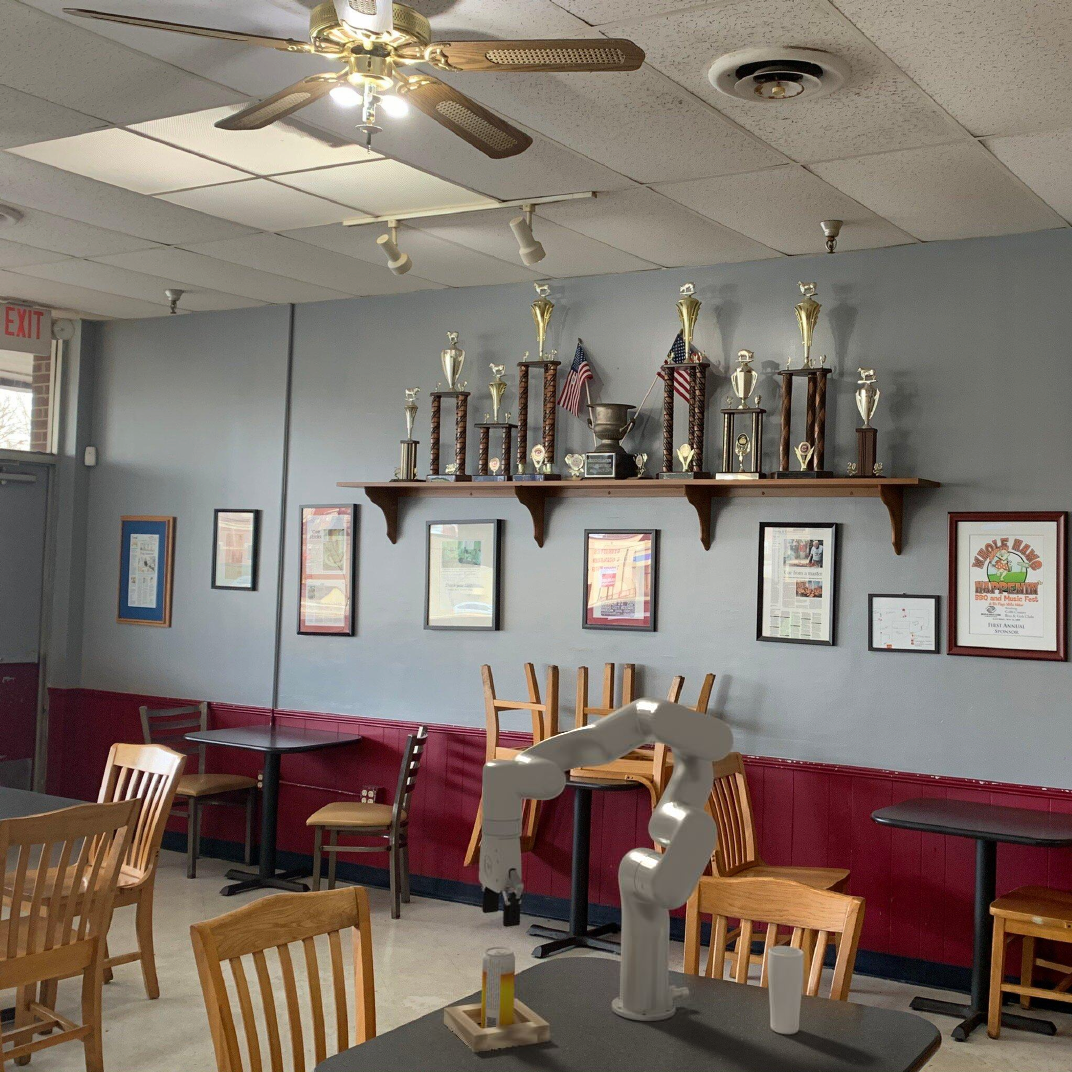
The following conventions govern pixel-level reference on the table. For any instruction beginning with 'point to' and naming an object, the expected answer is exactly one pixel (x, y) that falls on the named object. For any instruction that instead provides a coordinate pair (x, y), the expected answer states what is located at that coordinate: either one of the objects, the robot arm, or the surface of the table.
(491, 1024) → the beer can
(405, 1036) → the table surface
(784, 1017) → the drinking glass
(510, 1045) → the can holder
